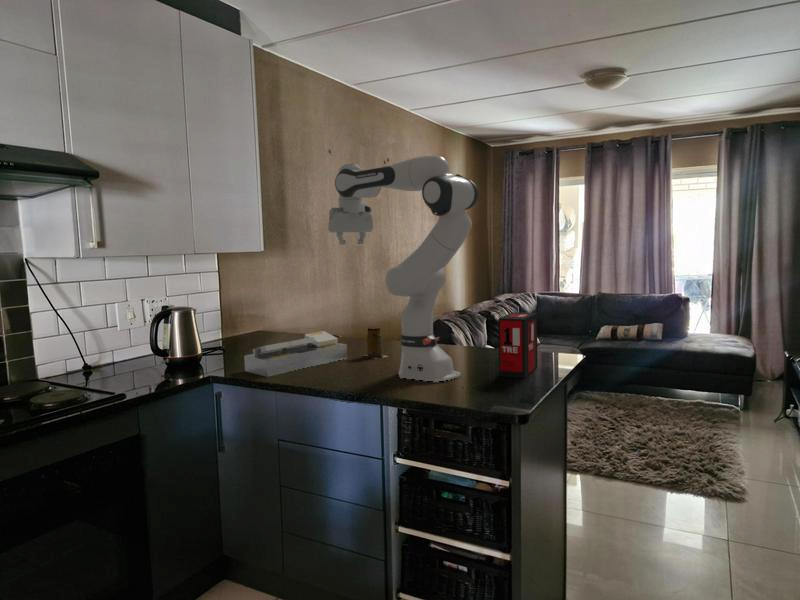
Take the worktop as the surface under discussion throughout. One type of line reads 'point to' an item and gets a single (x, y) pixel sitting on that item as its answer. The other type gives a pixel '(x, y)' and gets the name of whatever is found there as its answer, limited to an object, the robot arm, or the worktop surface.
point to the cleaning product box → (517, 344)
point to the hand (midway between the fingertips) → (351, 244)
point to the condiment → (374, 343)
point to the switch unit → (293, 358)
